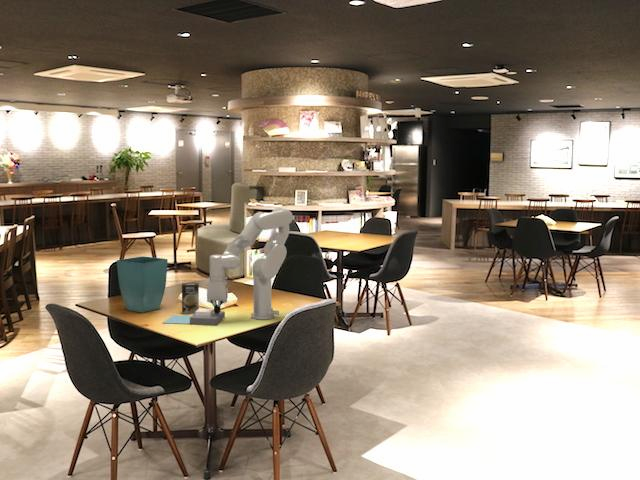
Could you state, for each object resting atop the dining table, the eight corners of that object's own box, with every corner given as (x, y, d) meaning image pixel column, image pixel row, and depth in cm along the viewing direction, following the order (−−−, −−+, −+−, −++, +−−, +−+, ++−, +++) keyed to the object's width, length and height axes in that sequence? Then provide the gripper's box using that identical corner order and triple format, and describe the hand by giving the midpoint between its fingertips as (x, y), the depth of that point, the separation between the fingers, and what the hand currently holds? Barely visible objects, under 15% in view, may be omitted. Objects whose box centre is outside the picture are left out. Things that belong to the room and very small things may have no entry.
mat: (198, 316, 338) (198, 316, 338) (189, 324, 322) (189, 323, 322) (172, 315, 340) (172, 315, 340) (162, 323, 324) (162, 322, 324)
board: (224, 317, 337) (224, 311, 336) (216, 325, 321) (216, 318, 320) (199, 316, 338) (199, 310, 338) (189, 324, 322) (189, 317, 322)
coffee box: (181, 314, 343) (181, 285, 341) (182, 311, 350) (181, 282, 348) (199, 313, 345) (198, 284, 343) (198, 310, 351) (198, 282, 349)
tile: (214, 313, 332) (214, 308, 332) (210, 316, 325) (210, 312, 325) (199, 312, 333) (199, 308, 333) (195, 315, 326) (195, 311, 326)
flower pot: (144, 303, 367) (142, 255, 363) (169, 308, 357) (168, 258, 353) (117, 310, 350) (115, 260, 346) (142, 315, 340) (141, 263, 336)
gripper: (233, 277, 329) (233, 312, 331) (205, 276, 331) (205, 311, 333) (229, 280, 322) (229, 315, 324) (200, 279, 323) (201, 314, 325)
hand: (217, 313), depth 328 cm, fingers closed
